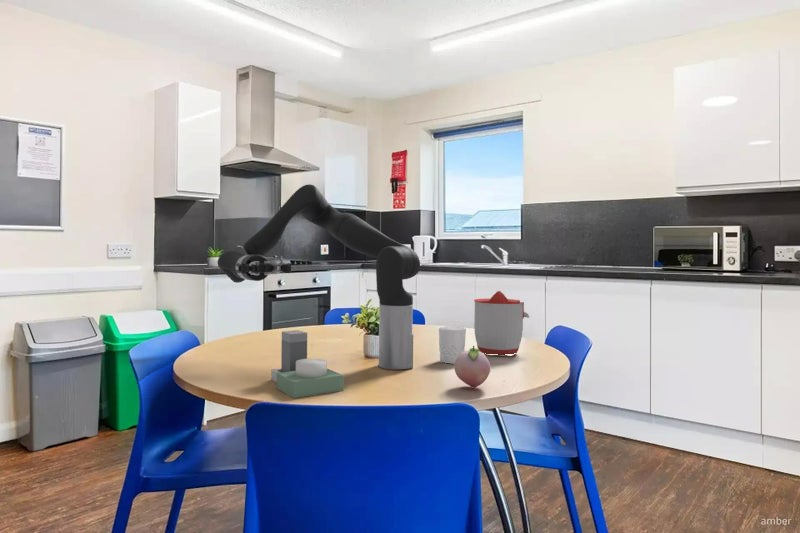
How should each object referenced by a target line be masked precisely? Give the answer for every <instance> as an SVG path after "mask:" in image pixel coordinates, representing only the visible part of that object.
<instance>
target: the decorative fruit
mask: <svg viewBox="0 0 800 533" xmlns="http://www.w3.org/2000/svg"><path fill="white" fill-rule="evenodd" d="M453 365H454V366H453V368H454V372H455V375H456V377H457V378H458V379H459V380H460V381H462V382H463V383H464V384H466V385H467V386H469V387H471V388H472V387H475V388H478V387H479V386H482V384H484V383H485V382H486V381H487V379H488V377H489V375H490V373H491V363H490V361H489V359H488V357H487V356H486V354H483V353H482V352H480V350H479V349H478V348H475V345H473V346H472V347H471V348H469V349H468V350H464V352H462V353H460V354H459V355H458V356H457V358H456V360H455V364H453Z"/></svg>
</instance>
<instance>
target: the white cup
mask: <svg viewBox="0 0 800 533" xmlns="http://www.w3.org/2000/svg"><path fill="white" fill-rule="evenodd" d="M466 333H467V328H466V327H464V326H461V325H460V326H459V325H458V326H457V325H443V326H442V325H441V326H439V327H438V346H439V347H438V348H439V361H441V362H440V363H442V362H445V363H444V364H446V363H455V360H456V358H457V356H458V355H459V354H460V353H462V352H464V351H465V346H466Z"/></svg>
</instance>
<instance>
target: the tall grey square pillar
mask: <svg viewBox="0 0 800 533" xmlns="http://www.w3.org/2000/svg"><path fill="white" fill-rule="evenodd" d="M301 359H308V332H306V331H303V330H300V329H299V330H297V329H295V330H285V331H284V330H283V331H281V360H280V361H281V362H280V364H281V365H280V366H281V367H280V369H281V372H288V371H296V361H297V360H301Z"/></svg>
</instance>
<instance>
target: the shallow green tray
mask: <svg viewBox="0 0 800 533" xmlns="http://www.w3.org/2000/svg"><path fill="white" fill-rule="evenodd" d="M270 376H271V377H270V378H271V381H273V382H275V383H276V389H278V390H280V391H281V392H282V393H285V394H287V395H288V396H290V397H292V398H293V399H297V398H298V399H299V398H304V397H311V396H316V395H322V394H323V395H324V394H330V393H335V392H342V391H344V389H345V388H344V387H345V386H344V384H345V383H344V378H345V375H344V374H342V373H340V372H336V371H334V370H331V369H329V368H328V361H327V359H323V358H315V357H314V358H313V357H311V358H307V359H301V360H297V361H296V371H288V372H281V368H274V369H273V368H272V369H271V375H270Z"/></svg>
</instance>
